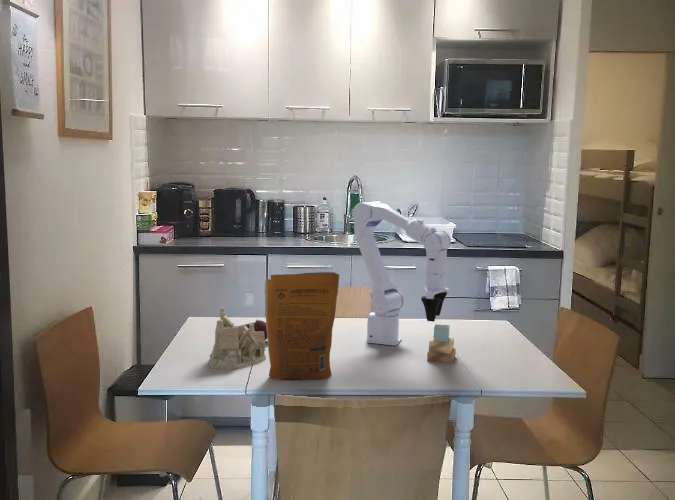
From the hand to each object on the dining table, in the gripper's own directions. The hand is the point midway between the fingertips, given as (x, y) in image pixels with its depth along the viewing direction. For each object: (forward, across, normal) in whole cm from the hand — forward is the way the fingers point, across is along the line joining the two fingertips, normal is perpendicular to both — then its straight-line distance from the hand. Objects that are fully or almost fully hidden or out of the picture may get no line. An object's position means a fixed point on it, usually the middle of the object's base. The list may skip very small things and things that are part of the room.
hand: (433, 318), depth 202 cm
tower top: (+8, -6, -4) cm, 10 cm away
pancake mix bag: (+11, -37, +27) cm, 47 cm away
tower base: (+11, -6, -4) cm, 13 cm away
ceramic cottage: (+11, -30, +49) cm, 58 cm away
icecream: (+11, -10, +52) cm, 54 cm away
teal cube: (+5, -6, -4) cm, 8 cm away
